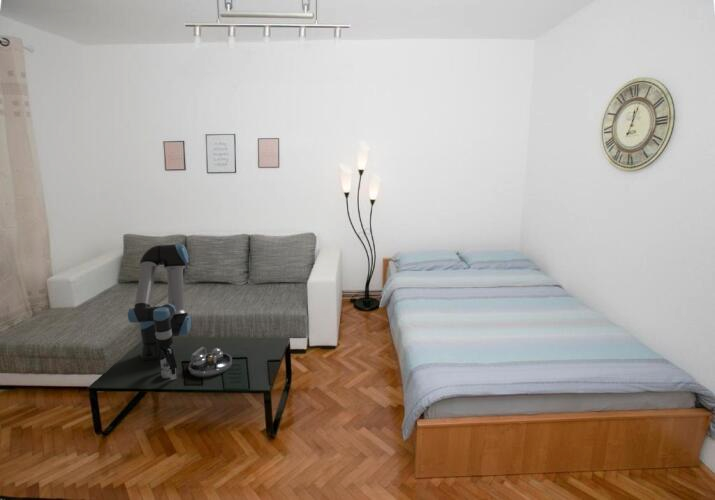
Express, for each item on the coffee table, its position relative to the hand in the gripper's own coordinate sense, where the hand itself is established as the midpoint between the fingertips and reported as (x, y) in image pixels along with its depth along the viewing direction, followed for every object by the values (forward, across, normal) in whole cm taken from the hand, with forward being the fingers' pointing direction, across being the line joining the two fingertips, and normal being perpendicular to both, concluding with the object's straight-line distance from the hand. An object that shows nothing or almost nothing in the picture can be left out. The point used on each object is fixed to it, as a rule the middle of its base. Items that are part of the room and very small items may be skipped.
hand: (168, 374), depth 209 cm
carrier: (0, +8, +20) cm, 21 cm away
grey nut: (0, 0, 0) cm, 0 cm away
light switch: (0, 0, +16) cm, 16 cm away
